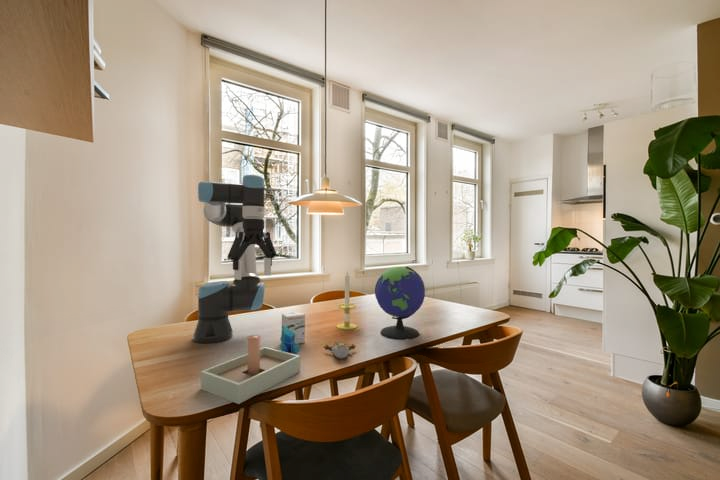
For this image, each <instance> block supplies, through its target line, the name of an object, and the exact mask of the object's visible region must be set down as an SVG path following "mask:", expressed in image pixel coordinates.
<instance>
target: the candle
mask: <svg viewBox="0 0 720 480" xmlns="http://www.w3.org/2000/svg"><path fill="white" fill-rule="evenodd" d="M337 307H338V308H339V309H342V310H344V321H343V323H339V324H337V325H336V328H337V329H339V330H346V331H348V330H354V329H357V328H358V325H357V324H355V323H350V321H351V320H350V319H351V317H350V315H351V313H350V312H351V311H350V310H352V309H355V308H357V306H356V305H355V304H351V303H350V274H349V272H348V271H346V274H345V276H344V304H339V305H337Z"/></svg>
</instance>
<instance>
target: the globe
mask: <svg viewBox="0 0 720 480" xmlns="http://www.w3.org/2000/svg"><path fill="white" fill-rule="evenodd" d="M374 286H375V288H374V295H375V298H376V301H377V304H378V305H379V307H380V308H381V309H382V311H383V312H385V314H388V315H389V316H391V319H394V320H396V324H395V325H391V326H387V327H384V328H382V329H381V330H380V333H379V334H380V335H381V336H382V337H384V338H386V339H390V340H399V341H407V340H406V339H409V340H414V338H415V339H416V338H419V337H420V332H419V330H417V329H415V328H414V327H409V326H406V325H404V321H403V320H405V319H408V318H410V317H411V316H413V315H414V314H415V313H416V312H418V311H419V309H421V307H422V305H423V303H424V302H425V301H424V300H425V296H426V289H425V284H424V280H423V279H422V277H421V275H419V273H417V272H416V271H415V270H414V269H412V268H411V267H408V266H405V267H403V266H396V267H392V268H389V269H387V270H385V271H384V272H383V273H382V274H381V275H379V277H378V279H377V281H376V283H375V285H374ZM418 336H419V337H418Z"/></svg>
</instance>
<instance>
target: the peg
mask: <svg viewBox="0 0 720 480" xmlns="http://www.w3.org/2000/svg"><path fill="white" fill-rule="evenodd" d="M246 343H247V345H246V347H247V349H246V351H247V353H246V354H247V374H248V375H251V376H254V375H257V374H259V373H260V349H261V335H258V334H252V335H248V336H247V342H246Z"/></svg>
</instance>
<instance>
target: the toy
mask: <svg viewBox="0 0 720 480" xmlns="http://www.w3.org/2000/svg"><path fill="white" fill-rule="evenodd" d="M338 342H339V343H338ZM334 343H335V344H333V345H332V346H329V345H328V344H325V345H324V346H323V348H324V350H328V352H329V353H333V354H334V357H336V358H337V359H339V360H341V359H345V358H346V357H347V356H348V355H349V356H351V357H352V356H353V353H350V350H355V349H356V348H357V347H356V345H354V343H353V344H351V345H348V344H347V343H343V340H340V341H338V340H335V341H334Z"/></svg>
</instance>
